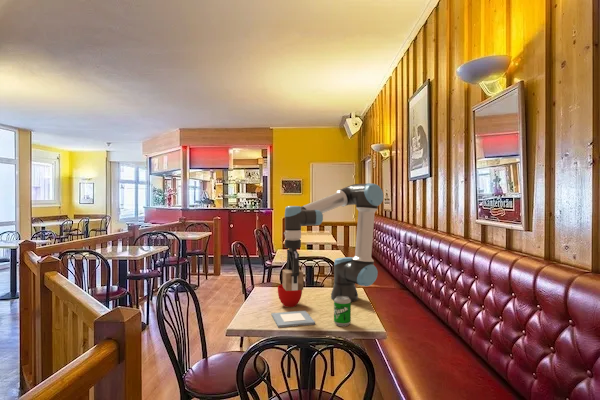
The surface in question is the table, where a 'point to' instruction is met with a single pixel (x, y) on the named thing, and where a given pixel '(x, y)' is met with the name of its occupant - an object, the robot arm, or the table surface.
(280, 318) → the baseplate
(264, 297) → the table surface
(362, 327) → the table surface
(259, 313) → the table surface
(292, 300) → the ceramic cup
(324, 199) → the robot arm
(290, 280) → the walnut block
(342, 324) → the soda can
